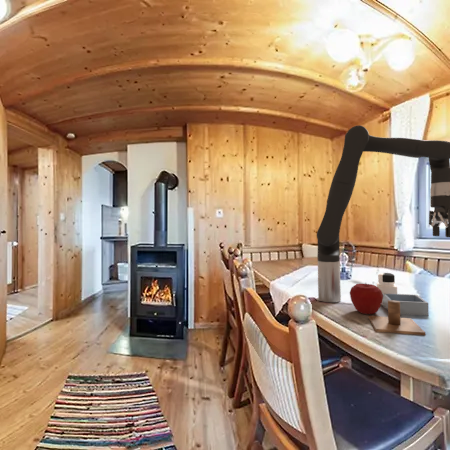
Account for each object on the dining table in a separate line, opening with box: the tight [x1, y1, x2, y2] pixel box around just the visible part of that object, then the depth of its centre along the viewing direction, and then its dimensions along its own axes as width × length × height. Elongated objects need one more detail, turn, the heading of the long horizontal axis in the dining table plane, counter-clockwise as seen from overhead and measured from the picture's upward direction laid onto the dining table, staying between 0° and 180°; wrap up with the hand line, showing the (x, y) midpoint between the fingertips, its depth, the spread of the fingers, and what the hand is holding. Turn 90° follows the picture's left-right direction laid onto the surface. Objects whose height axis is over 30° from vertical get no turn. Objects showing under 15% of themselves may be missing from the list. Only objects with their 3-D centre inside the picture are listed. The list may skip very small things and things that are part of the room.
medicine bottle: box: [376, 272, 398, 304], centre depth 123 cm, size 7×7×12 cm
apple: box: [349, 283, 383, 316], centre depth 108 cm, size 11×11×12 cm
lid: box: [367, 300, 426, 336], centre depth 93 cm, size 13×13×8 cm
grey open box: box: [382, 293, 430, 316], centre depth 110 cm, size 12×12×5 cm
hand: (442, 236), depth 113 cm, fingers open, 8 cm apart
